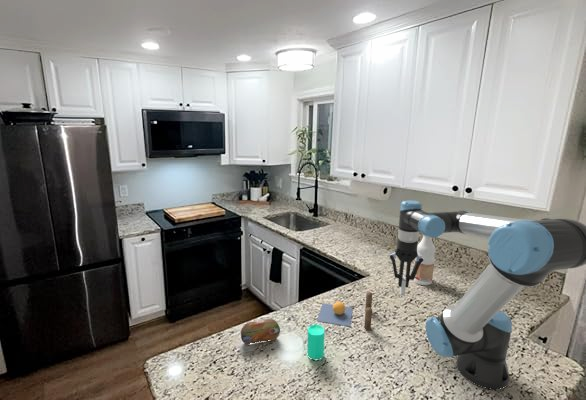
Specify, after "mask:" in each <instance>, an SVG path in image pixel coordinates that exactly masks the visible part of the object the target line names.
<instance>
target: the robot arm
mask: <svg viewBox="0 0 586 400" xmlns="http://www.w3.org/2000/svg"><path fill="white" fill-rule="evenodd" d="M422 205H423V204H422V203H421V202H420V201H418V200H413V199H412V200H411V199H409V200H403V201H402V202H401V203H400V210H399V220H398V232H397V233H398V234H397V243H396V249H395V251H394V252H392V253H389V259H390V260H391V261H392V264H391V265H392V268H393V274H394V278H395V279H398V282H397V283H398V287H399V288H400V291H399V292H400V296H406V288H409V283H410V281H414V278H415V276H416V273H417V271H418V268H419V266H420V264H421V263H422V262H423V258H422V256H419V255H418V253H417V245H418V244H419V243H418V241H419V235H420V233H421V234H422V235H423V234H424V235H426V236H429V237H432V239H434V238H438V237H440V236H441V235H443V234H448V233H460V234H463V235H470V236H474V237H479V238H482V239H488V242H487V243H488V246H489V248H487V253H488V262H489V264H488V266H486V267H485V269H483V272H481V274H480V275H479V276H478V278H477V279H476V280H475V281H474V283H473V284H472V285H471V286H470V287H469V289H468V290H467V291H466V292H465V293H464V294H463V296H462V297H461V298H460V299H459V301H458V302H457V303H456V305H449V306H447V307H446V308H444V310H443V311H442V312H441V314H440V315H438V316H432V317H429V318H427V320H426V321H425V333H426V336H427V340H428V342H429V344H430V346H431V347H432V350H434V352H435V353H436V354H437V355H439V356H440V357H443V358H453V357H456V364H455V365H456V369H457V370H458V372H459V371H460V372H459V373H460V374H461V375H462V376H463V377H464V378H465V377H466V378H467V379H468V380H467V379H466V378H465V379H466V380H467V381H469V380H470V381H471V383H472V382H473V383H472V384H474V383H475V384H474V385H476V384H477V385H476V386H478V385H480V386H482V387H481V388H483V387H486V388H491V389H500V388H503V387H505V386H506V387H508V385H509V382H510V381H509V379H510V372H509V368H508V363H507V355H508V349H509V345H510V341H511V340H510V339H511V334H512V332H513V328H512V327H513V322H512V319H511V318H510V317H509V315H508V314H506V313H505V312H504V311H502V310H503V309H504V308H505V306H507V305H508V304H509V303H510V301H511V300H512V299H513V298H515V297H516V296H517V295H518V294H519V293H520V292H521V291H522V290H523V289H524V287H526V288H531V287H532V288H533V287H536V286H538V285H539V284H541V282H542V281H543V280H544V279H545V278H547V277H548V275H550V274H551V273H552V272H555V271H558V270H559V271H561V270H569V269H576V268H580V267H582V266H584V265H586V224H584V223H582V222H580V221H577V220H575V219H571V218H570V219H569V218H548V217H547V218H546V217H545V218H541V219H538V220H537V219H536V220H532V219H524V218H523V219H522V218H514V217H506V216H505V217H504V216H498V215H489V214H484V213H483V214H481V213H474V212H472V211H469V210H457V211H438V212H437V211H435V212H427V211H424V210H423V206H422ZM396 257H397V259H398V260H399V271H398V269H397V265H396V260H395V259H396ZM416 257H417V258H416ZM415 258H416V262H415V261H414V260H415ZM413 261H414V265H413V268H412V270H411V266H412V265H411V264H412V262H413ZM405 263H406V268H405V277H403V276H404V265H405ZM470 381H469V382H470ZM507 384H508V385H507ZM480 386H479V387H480ZM506 387H505V388H506ZM486 388H485V389H486ZM491 389H490V390H491ZM503 389H504V388H503ZM500 390H501V389H500Z"/></svg>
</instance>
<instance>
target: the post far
mask: <svg viewBox="0 0 586 400" xmlns="http://www.w3.org/2000/svg"><path fill="white" fill-rule="evenodd" d="M365 294H366V295H365V308H364V310H366V307H370V308H372V305H373V302H372V301H373V293H372V292H371V291H367V292H366V293H365Z"/></svg>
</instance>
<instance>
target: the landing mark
mask: <svg viewBox="0 0 586 400" xmlns="http://www.w3.org/2000/svg"><path fill="white" fill-rule="evenodd" d="M333 305H334V304H329V303H322V304H321V307H320V311H319V313H318V316H317V321H316V322H319V321H320V323H325V322H326V324H331V323H333V325H337V324H338V325H337V326H343V325H345V326H344V327H349V326H350V327H351V324H352V315H353V307H350V306H345V312H344V313H343V314H341V315H337V314H335V313H334V311H333Z"/></svg>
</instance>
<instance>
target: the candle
mask: <svg viewBox="0 0 586 400" xmlns="http://www.w3.org/2000/svg"><path fill="white" fill-rule="evenodd" d="M325 332H326V331H325V328H324V327H323V326H322V325H321V324H312V325H310V326H308V329H307V345H306V346H307V347H306V348H307V350H306V354H307V353H308V355H307V357H308V356H309V357H310V358H312V359H320V358H322V357H323V358H324V356H323V355H325V353H324V352H325ZM323 358H322V359H323Z"/></svg>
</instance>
